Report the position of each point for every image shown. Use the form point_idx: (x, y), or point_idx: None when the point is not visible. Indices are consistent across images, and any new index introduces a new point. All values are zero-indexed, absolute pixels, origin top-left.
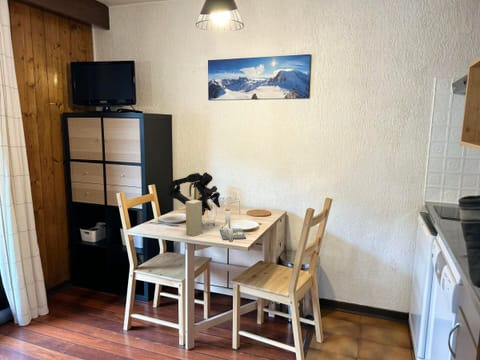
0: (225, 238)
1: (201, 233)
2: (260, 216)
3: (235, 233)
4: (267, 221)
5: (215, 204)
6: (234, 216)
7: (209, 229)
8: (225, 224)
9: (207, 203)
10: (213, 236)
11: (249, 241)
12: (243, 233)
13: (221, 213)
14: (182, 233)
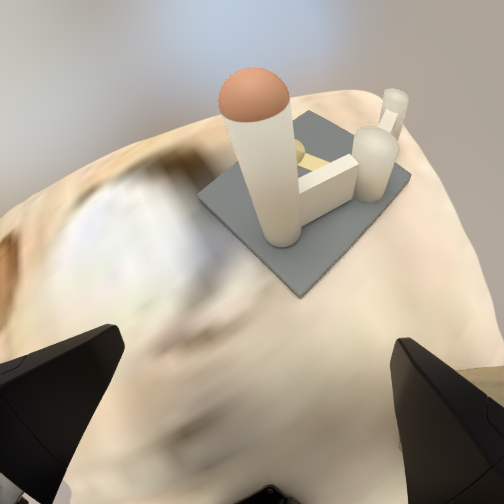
0: (400, 166)
1: None
2: (17, 256)
3: (300, 164)
4: (59, 194)
5: (84, 429)
6: None
7: (310, 395)
8: (293, 217)
9: (493, 449)
10: (409, 264)
11: (324, 97)
12: None
13: None
14: None
